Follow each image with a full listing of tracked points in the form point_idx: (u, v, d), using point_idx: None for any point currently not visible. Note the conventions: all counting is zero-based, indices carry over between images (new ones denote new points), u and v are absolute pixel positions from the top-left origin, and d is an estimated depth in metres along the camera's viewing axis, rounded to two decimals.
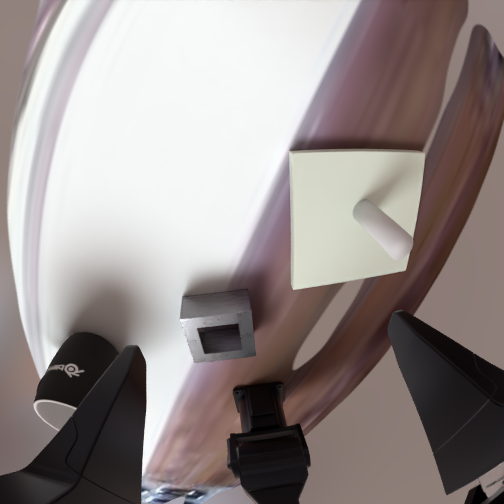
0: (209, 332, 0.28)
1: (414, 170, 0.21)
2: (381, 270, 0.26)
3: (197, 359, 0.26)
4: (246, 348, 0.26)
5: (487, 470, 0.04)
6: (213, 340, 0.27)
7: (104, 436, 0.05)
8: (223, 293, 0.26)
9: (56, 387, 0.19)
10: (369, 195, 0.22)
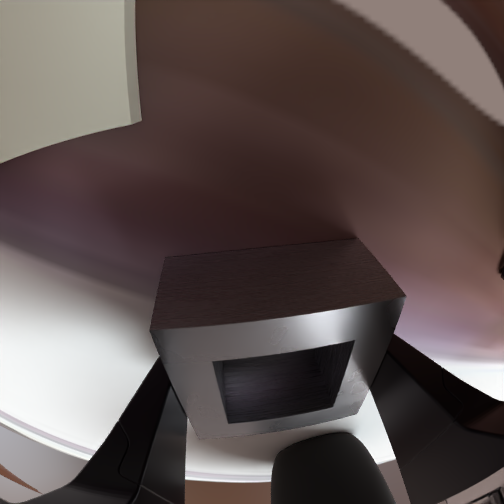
0: None
1: None
2: None
3: (347, 412, 0.09)
4: (350, 331, 0.07)
5: (453, 493, 0.04)
6: (324, 355, 0.10)
7: (157, 440, 0.05)
8: None
9: None
10: None
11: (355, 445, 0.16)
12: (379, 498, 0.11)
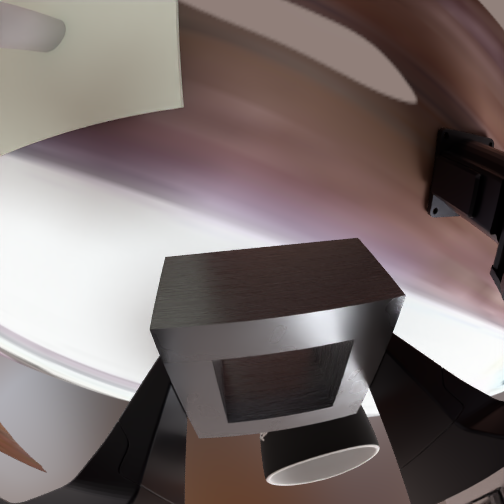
0: None
1: None
2: None
3: (346, 411, 0.09)
4: (349, 331, 0.07)
5: (453, 494, 0.04)
6: (323, 354, 0.10)
7: (157, 440, 0.05)
8: None
9: (263, 462, 0.17)
10: None
11: None
12: None
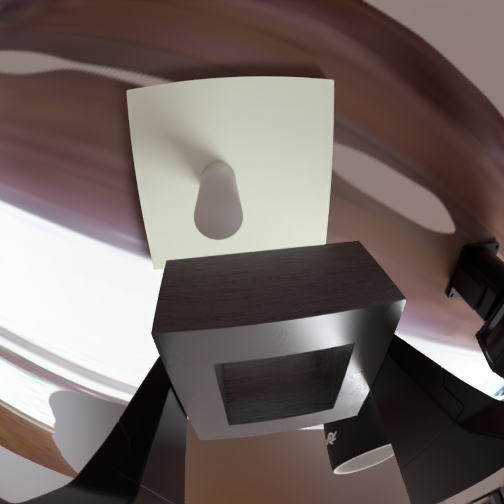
0: None
1: (154, 103, 0.14)
2: (324, 128, 0.16)
3: (347, 413, 0.09)
4: (350, 334, 0.07)
5: (453, 493, 0.04)
6: (324, 357, 0.10)
7: (157, 440, 0.05)
8: None
9: (331, 458, 0.25)
10: (195, 172, 0.17)
11: None
12: None
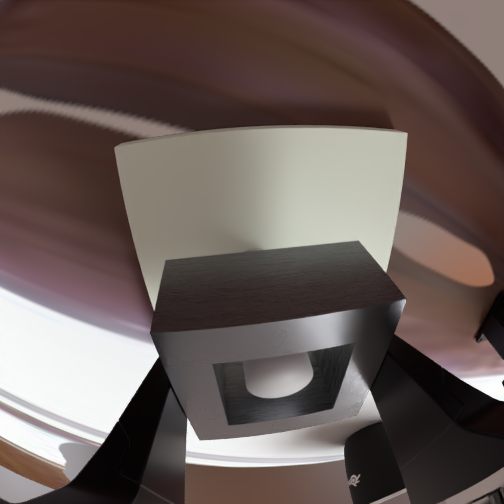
0: None
1: (158, 168, 0.10)
2: (390, 199, 0.12)
3: (346, 414, 0.09)
4: (350, 334, 0.07)
5: (453, 493, 0.04)
6: (324, 357, 0.10)
7: (157, 440, 0.05)
8: None
9: (354, 499, 0.22)
10: None
11: None
12: None
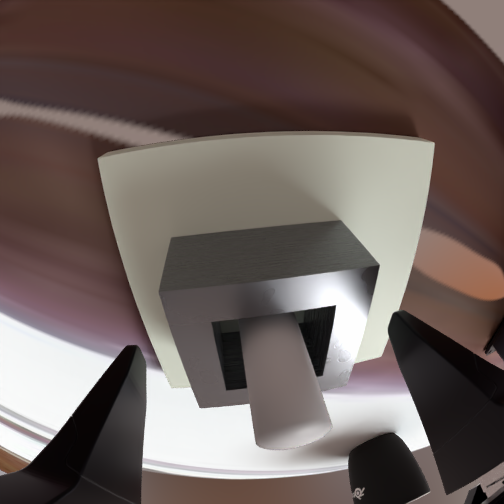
0: (305, 316, 0.12)
1: (148, 183, 0.09)
2: (413, 216, 0.10)
3: (336, 383, 0.10)
4: (331, 296, 0.08)
5: (487, 470, 0.04)
6: (313, 327, 0.11)
7: (104, 436, 0.05)
8: None
9: None
10: None
11: (399, 440, 0.25)
12: (415, 469, 0.21)
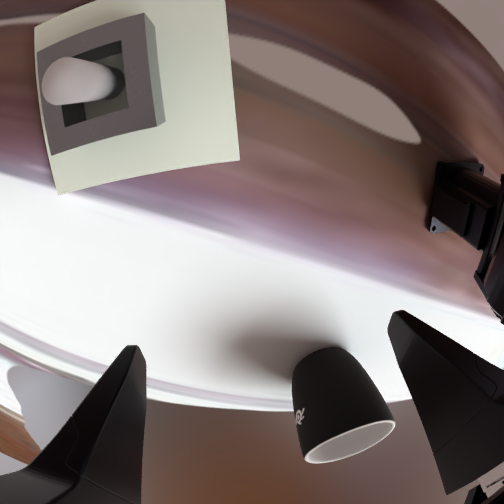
0: None
1: (54, 31, 0.10)
2: (216, 17, 0.12)
3: (145, 120, 0.12)
4: (116, 34, 0.09)
5: (487, 470, 0.04)
6: None
7: (104, 436, 0.05)
8: None
9: (301, 442, 0.22)
10: None
11: (348, 355, 0.27)
12: (369, 387, 0.22)
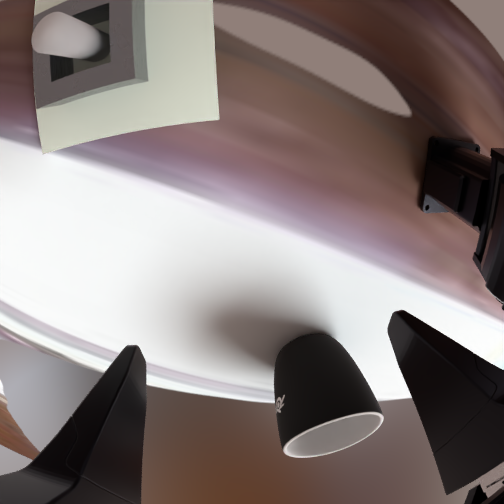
0: None
1: (53, 2, 0.09)
2: None
3: (125, 73, 0.11)
4: None
5: (487, 470, 0.04)
6: None
7: (104, 436, 0.05)
8: None
9: (279, 433, 0.21)
10: None
11: (335, 341, 0.26)
12: (355, 376, 0.21)
